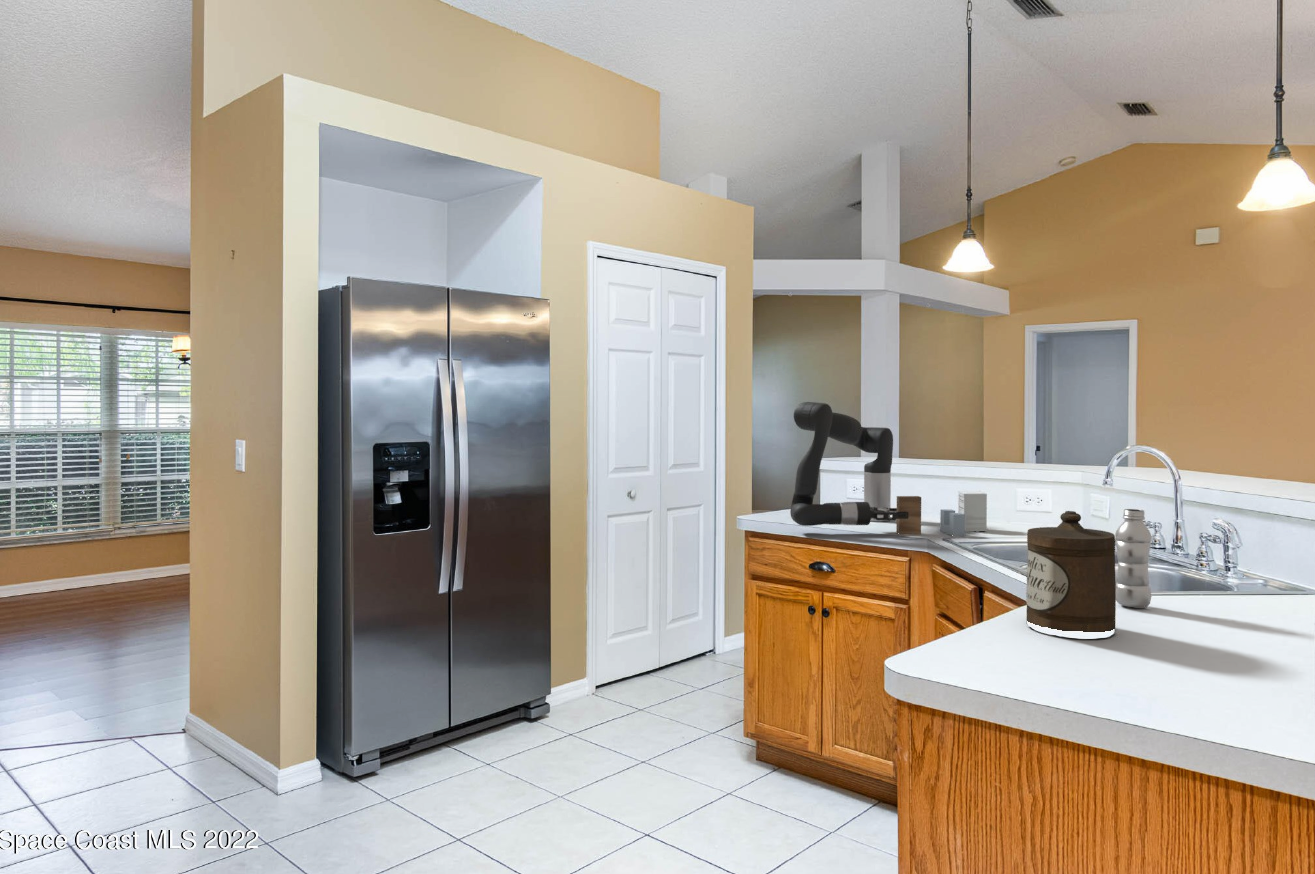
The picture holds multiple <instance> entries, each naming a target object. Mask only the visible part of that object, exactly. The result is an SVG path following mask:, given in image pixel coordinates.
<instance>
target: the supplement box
mask: <svg viewBox="0 0 1315 874" xmlns="http://www.w3.org/2000/svg"><path fill="white" fill-rule="evenodd" d="M957 492H958V495H957V497H958V498H957V499H958V501H957V503H958V508H957V509H958V511H957V513H963V514H965V533H966V532H971V533H972V532H974V531H976V532H975V533H977V532H979V531H986V532H987V526H988V525H987V524H988V523H987V515H988V513H987V509H988V508H987V506H988V505H987V504H988V503H987V502H988V501H987V500H988V499H987V498H988V497H987V496H988V494H987V493H986V492H983V491H981V490H979V491H978V490H977V491H974V490H972V491H968V490H967V491H966V490H964V491H963V490H962V491H961V490H960V491H957ZM979 533H980V532H979Z"/></svg>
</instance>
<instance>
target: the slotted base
mask: <svg viewBox="0 0 1315 874" xmlns="http://www.w3.org/2000/svg"><path fill="white" fill-rule="evenodd" d="M939 514H940V516H939V517H940V520H939V521H940V522H939V523H940V524H939V525H940V529H939V530H940V532H942V533H944V532H945V533H944V534H947V535H949V536H951V535H953V536H965V534H966V532H965V514H963V513H958V512H956V510H954V509H949V508H948V509H940V513H939ZM953 536H952V537H953Z"/></svg>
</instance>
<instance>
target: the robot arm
mask: <svg viewBox="0 0 1315 874" xmlns="http://www.w3.org/2000/svg"><path fill="white" fill-rule="evenodd" d="M793 420H794V422H795V424H796V426H797V428H799V429H800V430H804V431H810V432H814V435H813V440H812V442H811V445H810V447H809V448H808V450H807V452H806V453H805V454H804V456H803V457H802V459H800V462H799V463H798V466H797V470H796V476H795V483H794V493H793V495H792V499H791V503H790V513H789V514H790V517H791V519H792V520H793V522H795V523H796V524H797V525H799V526H802V527H803V526H805V527H806V526H807V527H809V526H812V527H813V526H822V525H832V526H833V525H834V526H835V525H838V526H839V525H843V526H869V525H870V524H871V522H890V521H897V519H908V517H909V513H908V512H897V507H894V508H893V507H892V506H891V505H892V504H891V503H892V502H891V499H892V498H891V497H892V496H891V495H892V494H891V492H892V491H891V487H892V485H891V484H892V483H891V481H892V480H891V478H892V472H891V471H892V464H893V450H894V435H893V431H892V430H891V429H890V428H888V427H877V426H876V427H873V426H872V427H871V426H870V427H869V426H868V427H867V426H862V423H860V421H859V420H858V419H856V418H855V417H853V416H850V415H847V414H844V413H841V412H840V413H839V412H833V409H832V407H831V406H830V405H829V404H828V403H824V402H816V401H815V402H814V401H804V402H801V403H800V404H798V405H797V406H796V407H795V409H794V411H793ZM829 438H830V439H832V440H835V441H837V442H839V443H842V444H846V445H851V446H854V447H856V448H857V449H859V450H861V451H862V452H865V453H868V454H877V456H876V458H875V459H874V460H873V461H871V462H867V463H865V464H864V466H863V469H864V470H863V471H864V473H863V501H842V502H826V503H822V504H820V503H813V502H814V498H815V496H816V493H817V490H818V484H819V476H820V469H821V463H822V459H823V455H824V453H825V449H826V446H827V443H828V439H829Z"/></svg>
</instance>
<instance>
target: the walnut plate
mask: <svg viewBox="0 0 1315 874" xmlns="http://www.w3.org/2000/svg"><path fill="white" fill-rule="evenodd" d="M896 508H897V512H908V513H909V517H908V519H896V527H895V528H896V531H895V532H897V533H899V534H921V535H922V496H919V495H897V496H896ZM897 533H896V534H897ZM899 534H898V535H899Z"/></svg>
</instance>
